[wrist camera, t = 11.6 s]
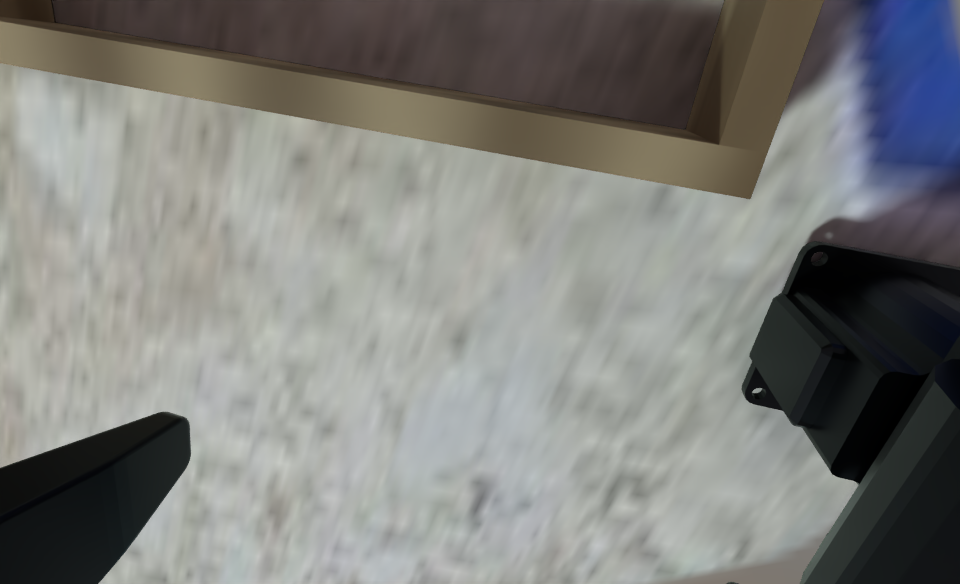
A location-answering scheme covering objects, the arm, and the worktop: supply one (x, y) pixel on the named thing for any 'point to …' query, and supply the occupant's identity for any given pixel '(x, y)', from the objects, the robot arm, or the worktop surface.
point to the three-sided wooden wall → (469, 95)
